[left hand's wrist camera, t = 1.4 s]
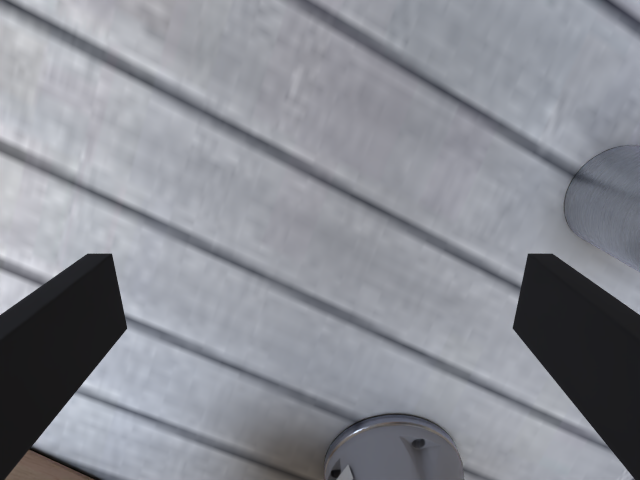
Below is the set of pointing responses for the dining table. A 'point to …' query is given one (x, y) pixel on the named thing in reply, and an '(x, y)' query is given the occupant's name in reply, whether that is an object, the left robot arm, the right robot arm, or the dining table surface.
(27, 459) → the decorative block
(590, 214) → the can
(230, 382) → the dining table surface
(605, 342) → the left robot arm
